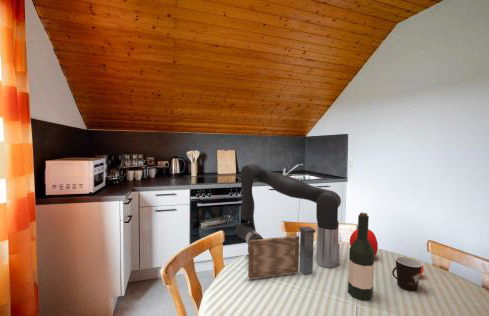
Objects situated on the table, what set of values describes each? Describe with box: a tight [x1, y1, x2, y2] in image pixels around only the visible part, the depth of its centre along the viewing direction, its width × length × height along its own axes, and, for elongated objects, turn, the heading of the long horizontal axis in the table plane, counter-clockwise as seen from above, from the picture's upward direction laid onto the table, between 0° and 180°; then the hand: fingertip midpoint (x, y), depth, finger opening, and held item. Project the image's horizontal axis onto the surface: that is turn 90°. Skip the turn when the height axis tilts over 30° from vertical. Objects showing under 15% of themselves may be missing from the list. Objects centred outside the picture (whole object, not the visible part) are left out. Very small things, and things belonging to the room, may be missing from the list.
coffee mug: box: [391, 256, 423, 292], centre depth 97 cm, size 12×9×10 cm
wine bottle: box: [347, 212, 376, 302], centre depth 91 cm, size 8×8×30 cm
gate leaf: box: [247, 235, 300, 280], centre depth 103 cm, size 22×2×15 cm, turn 106°
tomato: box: [349, 228, 379, 256], centre depth 123 cm, size 13×11×14 cm
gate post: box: [298, 226, 316, 276], centre depth 107 cm, size 5×5×19 cm
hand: (268, 256), depth 104 cm, fingers closed
